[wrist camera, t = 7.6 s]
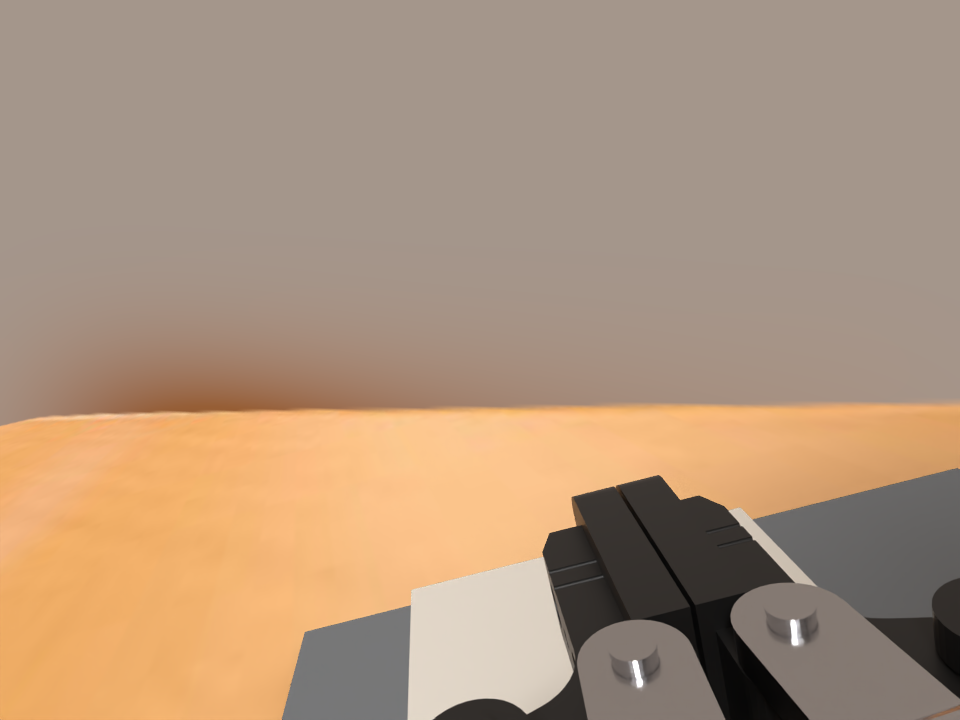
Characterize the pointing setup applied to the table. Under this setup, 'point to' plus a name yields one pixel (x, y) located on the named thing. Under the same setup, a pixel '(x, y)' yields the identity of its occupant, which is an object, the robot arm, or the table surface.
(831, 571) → the mat
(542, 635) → the tile
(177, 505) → the table surface
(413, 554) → the table surface
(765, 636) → the robot arm
